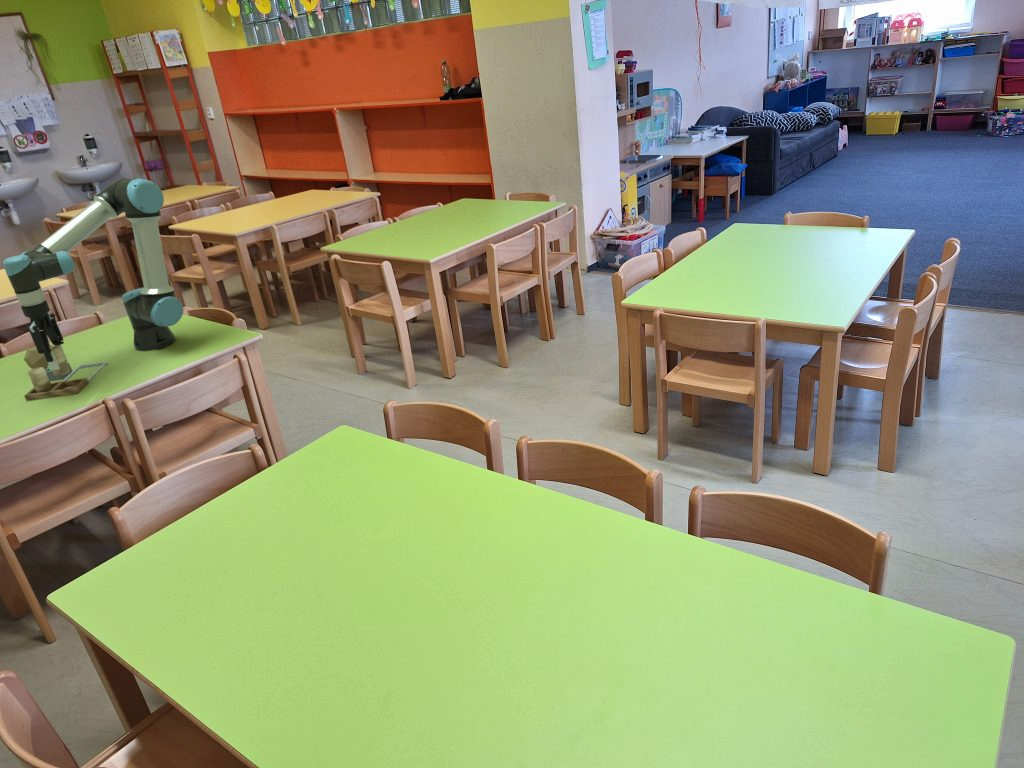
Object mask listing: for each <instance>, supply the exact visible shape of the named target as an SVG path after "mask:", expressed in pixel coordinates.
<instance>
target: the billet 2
mask: <svg viewBox="0 0 1024 768" xmlns="http://www.w3.org/2000/svg"><path fill="white" fill-rule="evenodd" d="M54 346H55V345H54ZM50 349H51V351H53V352H54V355H55V357H56V360H57V362H58V364H59V367H60V369H58V370H52V371H53V374H54V375H55V376H60V375H64V374H67V373H69V372H70V369H69V366H68V364H67V363H68V362H66V359H65V357H64V354H63V352H62V349H61V347H60V346H55V347H51V348H50Z"/></svg>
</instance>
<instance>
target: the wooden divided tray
mask: <svg viewBox="0 0 1024 768" xmlns="http://www.w3.org/2000/svg"><path fill="white" fill-rule="evenodd" d="M50 383H51V385H52V389H51V390H50V391H48V392H40V393H37V392H36V390H35V388H34V387H32V388H31V389H30V390H29V391H28V392H27V393H26V394H24V395H23V397H24V399H25V400H26V401H25V402H29V401H37V400H45V399H52V398H59V397H65V396H66V397H67V396H74V395H79V394H80V392H82V390H83V389H85V387H87V386H88V385H89V384H90V381H89V382H88V378H87V377H84V378H76V379H75V378H74V379H68V380H67V381H63V380H59V381H51V382H50Z"/></svg>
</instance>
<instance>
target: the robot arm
mask: <svg viewBox="0 0 1024 768" xmlns="http://www.w3.org/2000/svg"><path fill="white" fill-rule="evenodd" d="M164 197H165V196H164V194H163V191H162V190H161V188H160V187H159V185H157V184H156V183H155V182H153V181H152V180H149V179H144V178H120V179H117V180H115V181H113V182H112V183H110V184H109V185H106V187H105V188H104V189H103V190H101V191H100V192H99V193H97V194H96V195H95V196H94V197H93V201H92V202H91V203H90V204H88V205H87V206H86V207H84V208H83V209H82V210H81V211H80V212H79V213H77V214H76V215H75V216H74V217H72V218H71V219H70V220H68V221H67V222H66V223H64V224H63V225H62V226H61V227H60V228H59V229H57V230H56V231H55V232H53V233H51V235H50V236H49V237H47V238H46V239H44V240H43V241H42V242H41V243H40V244H38V245H36V247H33V249H31V250H26V251H24V252H22V253H21V254H20V255H15V256H14V255H13V256H10V257H7V258H6V259H4V260H3V262H2V264H3V267H4V271H5V273H6V276H7V278H8V280H9V283H10V285H11V287H12V289H13V291H14V294H15V297H16V298H17V300H18V303H19V305H20V309H21V310H22V313H23V315H24V317H26V318H29V320H30V324H31V325H30V326H27V327H26V329H27V331H28V332H29V334H30V336H31V338H32V341H33V343H34V345H35V346H34V347H36V348H37V351H38V353H39V354H44V355H45V357H46V360H47V362H48V364H49V366H50V369H51V370H58V369H60V367H59V364H58V362H57V360H56V357H55V355H54V352H53V351H51V349H50V345H53V346H52V347H55V346H60V347H61V349H62V352H63V354H64V357H65V359H66V362H67V363H69V361H68V359H67V356H66V354H65V352H64V351H65V350H64V349H63V346H62V345H64V344H65V341H64V336H63V335H62V332H61V330H60V328H59V325H58V323H57V320H56V317H55V313H49V312H50V310H51V308H50V306H49V303H48V302H47V300H46V296H45V294H44V291H43V289H42V285H40V282H44V281H47V280H50V279H53V278H57V277H61V276H65V275H67V274H70V273H73V272H74V271H75V261H73V257H72V256H71V255H70V254H69V252H70V251H72V250H73V249H74V248H75V247H76V246H78V245H79V244H80V243H81V242H83V241H85V239H87V238H88V237H89V236H90V235H92V234H93V233H95V231H96V230H98V229H99V228H100V227H101V226H102V225H104V224H105V223H107V221H109V220H110V219H116V218H118V216H120V215H122V214H124V216H125V219H126V220H128V221H129V222H130V223H131V227H132V232H133V236H134V238H133V239H134V242H135V249H136V252H137V257H138V258H137V259H138V263H139V268H140V274H141V278H142V284H143V287H139V288H136V289H132V290H129V291H127V292H125V293H124V294H122V296H121V299H122V303H123V304H122V305H123V306H124V308H125V311H126V313H127V316H128V319H129V322H130V324H131V327H132V330H133V347H134V349H135V351H138V352H150V351H155V350H156V351H157V350H161V349H163V348H166V347H168V346H171V345H172V344H173V343H174V342H175V341H176V337H175V334H174V333H173V331H172V330H171V328H170V327H172V326H174V325H176V324H178V323H179V321H180V320H181V319H182V317H183V315H184V305H183V303H182V302H181V301H180V300H179V299H178V298H177V297H176V293H175V289H174V288H173V287H172V286H171V285H170V283H169V278H168V272H167V268H166V261H165V256H164V250H163V245H162V240H161V234H160V228H159V227H160V226H159V223H158V222H159V220H160V218H161V217H162V214H161V213H162V212H161V209H162V207H163V205H164V203H165V199H164ZM48 338H49V339H48ZM49 341H50V342H51V344H50V342H49ZM49 344H50V345H49Z"/></svg>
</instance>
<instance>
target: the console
mask: <svg viewBox="0 0 1024 768" xmlns="http://www.w3.org/2000/svg"><path fill="white" fill-rule="evenodd" d="M67 364H68V366H69V369H70V372H69V373H67V374H64V375H60V376H55V375H54V374H53V371H52V370H51V371H49V368H48V367H47V368H46V369H45V372H46V374H47V376H48V379H49V381H50V382H56V381H63V380H64V379H65V378H66V377H67V376H68V375H69V374H70V373H71V372H72V371H73V369H72V367H71V365H70V363H69V362H67Z"/></svg>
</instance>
